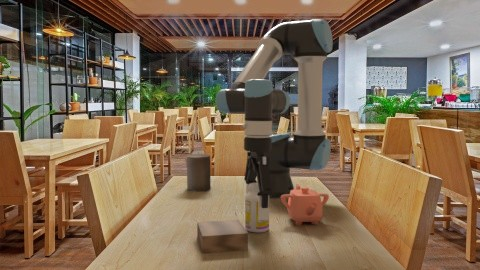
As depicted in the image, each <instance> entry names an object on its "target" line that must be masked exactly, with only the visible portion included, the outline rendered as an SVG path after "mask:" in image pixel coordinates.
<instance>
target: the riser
mask: <svg viewBox="0 0 480 270" xmlns="http://www.w3.org/2000/svg"><path fill="white" fill-rule="evenodd" d="M196 226H197V227H196V229H197V231H196V232H197V234H196V236H197V241H198V243H199V246H200V249H201V251H202V253H203V254H205V253H217V252H230V251H231V252H233V251H244V250H245V251H246V250H249V231H247V230H246V228H245V226H243V224H242V223H241V221H240V220H239V219H233V220H218V221H217V220H216V221H215V220H214V221H197V224H196Z"/></svg>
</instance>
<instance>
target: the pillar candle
mask: <svg viewBox="0 0 480 270" xmlns="http://www.w3.org/2000/svg"><path fill="white" fill-rule="evenodd" d="M211 183H212V182H211V155H210V154H206V153H205V154H204V153H200V152H198V153H197V154H189V155H186V188H187V190H188V191H191V192H201V191H209V190H211V189H212V187H211Z"/></svg>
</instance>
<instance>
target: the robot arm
mask: <svg viewBox="0 0 480 270" xmlns="http://www.w3.org/2000/svg"><path fill="white" fill-rule="evenodd" d="M332 34H333V33H332V30H331V27H330V24H329V23H328V21H327V20H325V19H324V18H320V19H319V18H318V19H317V18H316V19H314V18H312V19H305V20H294V21H285V22H281V23H279V24H277V25H276V26H274V27H273V28H271V29H270V30H269V31H268V32H266V33H265V34H264V35H263V36H262V38H261V39H260V40H259V41H258V44H257V47H256V48H257V49H256V50H255V52H254V53H253V55H251V58H250V59H249V60H248V62H247V63H246V64H245V67H244V68H243V69H242V71H241V72H240V73H239V74H238V76H237V77H236V79H235V81H234V82H233V83H232V85H231V86H230V88H223V89H220V90H218V91H217V92H216V95H215V105H216V109H217V110H218V111H219V112H220V113H222V114H231V115H232V114H233V115H234V114H238V115H239V114H240V115H241V114H244V124H242V128H243V129H244V131H243V132H244V135H245V137H244V139H243V149H244V151H246V154H247V156H246V163H245V164H246V165H245V172H244V177H243V178H244V182H245V185H246V186H245V187H246V188H245V195H246V194H247V193H249V192H250V190H249V184H250V183H258V186H259V192H258V194H257V196H258V220H269V221H270V198H281V196H282V195H285V194H290V191H291V190H295V187H294V183H293V180H292V176H291V169H296V170H297V169H298V170H307V171H308V170H309V171H322V170H324V169H325V168H326V167H327V165H328V163H329V160H330V156H331V149H332V145H331V144H332V143H331V139H329V138H326V137H327V136H326V135H327V134H326V131H324V130H323V128H322V124H323V123H322V122H323V121H322V119H323V118H322V115H323V111H322V110H323V109H322V107H323V64H324V61H325V60H327V58H328V53H331V52H332V50H333V46H334V43H333V35H332ZM286 55H294V56H293V59H294V61H296V62H297V64H298V67H297V68H298V73H297V75H298V76H297V77H298V78H297V79H298V80H297V88H298V89H297V129H296V130H295V131H294V132H293V137H292V136H291V133H278V134H276V133H275V134H273V115H280V114H284V113H285V112H287V110H289V107H290V106H291V98H290V96H289V94H288V92H286V91H285V90H283V89H281V88H274V87H273V82H272V80H270V79H265V78H266V76H267V75H268V73H269V72H270V70H271V68H272V67H273V65H274V63H275V62H276V61H278V60H280V59H281V57H282V56H286Z"/></svg>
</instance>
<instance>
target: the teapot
mask: <svg viewBox="0 0 480 270" xmlns="http://www.w3.org/2000/svg"><path fill="white" fill-rule="evenodd" d="M295 187H296V189H294V190H291V191H290V194H285V195H282V196H281V197H280V201H281V203H282V204H283V205H284V206H285V207H286V208H287V213H288V216H289V218H290V220H293V221H295V225H297V226H302V225H303V222H304V223H309V222H310V223H311V225H318V224H319V222H321V221H322V219H323V216H324V215H323V212H324V211H323V210H324V209H323V207H324V206H325V204H327V202H328V201H329V199H330V196H329V194H328V193H318V192H317V191H316V190H313V189H310V188H309V187H307V186H306V187H305V186H304V187H301V186H300V184H298V183H296V184H295ZM286 198H287V199H288V202H287V199H286ZM322 198H323V199H322Z"/></svg>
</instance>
